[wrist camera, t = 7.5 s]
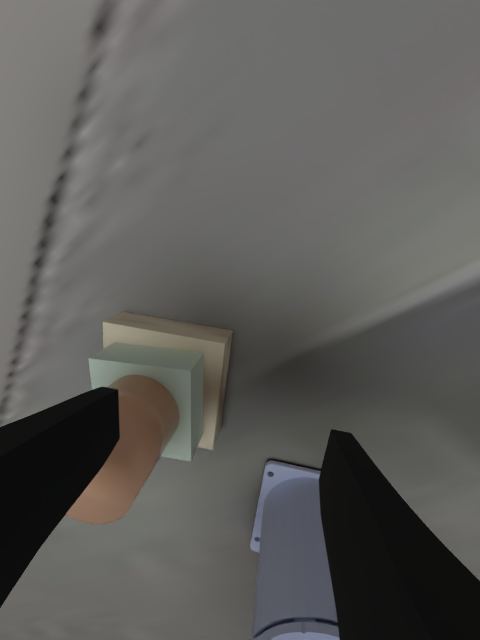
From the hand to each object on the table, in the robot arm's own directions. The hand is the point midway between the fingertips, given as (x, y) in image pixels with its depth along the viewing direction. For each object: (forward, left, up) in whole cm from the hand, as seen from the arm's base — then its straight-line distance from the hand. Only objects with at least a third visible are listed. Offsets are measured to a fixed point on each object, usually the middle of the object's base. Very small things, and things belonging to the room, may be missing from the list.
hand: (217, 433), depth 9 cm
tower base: (-4, +5, -11) cm, 13 cm away
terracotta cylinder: (-4, +5, -5) cm, 9 cm away
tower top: (-4, +5, -8) cm, 11 cm away
